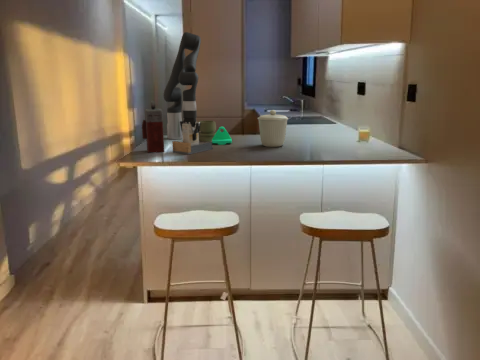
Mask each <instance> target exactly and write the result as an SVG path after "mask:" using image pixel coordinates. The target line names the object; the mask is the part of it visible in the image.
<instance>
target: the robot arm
mask: <svg viewBox="0 0 480 360" xmlns="http://www.w3.org/2000/svg"><path fill="white" fill-rule="evenodd" d="M201 43H202V39H201V36H199V35H197V34H194V33H191V32H186V31H185V32H183V34H182V36H181V39H180V43H179V47H178V52H177V55H176V57H175V60H174V62H173V66H172V69H171V73H170V77H169V78H168V81H167V84H166V86H165V88H164V90H163V99H164V100H163V101H165V102H167V103H173V104H172V105H171V106H169V107H168V108H167V109H166V112H167V113H166V116H167V124H166V134H167V135H166V137H167V139H168V140H181V139H182V140H183V132H182V124H190V125H191V124H192V125H191V130H192V133H193V134H192V139H193V141H195V140H196V139H197V138H196V134H197V133H198V134H199V132H201V131H200V125H201V123H200V122H199V121H197V117H198V113H197V112H198V110H197V102H196V101H197V99H196V97H197V96H196V95H197V94H196V93H197V86H198V82H199V74H198V73H197V72H196V70H197V60H198V56H199V53H200V48H201ZM185 50H188V51H191V52H190V53H189V54H187V55H186V51H185ZM179 84H180V85H181V86H191V87H190V88H189V89H184V90H183V91H182V90H181V88H180V87H177V86H178V85H179ZM182 117H183V119H182ZM194 126H195V128H193V127H194ZM197 129H198V130H197Z"/></svg>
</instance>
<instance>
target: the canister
mask: <svg viewBox="0 0 480 360" xmlns="http://www.w3.org/2000/svg"><path fill="white" fill-rule="evenodd" d="M257 120H258V126H259V134H260V135H259V136H260V143H261V145H262V146H264V147H266V148H267V147H268V148H277V147H282V146H284V143H285V141H286V134H287V133H286V132H287V125H288V120H289V117H287V115H285V114H277V110H275V109H272V110H270V111H269V114H264V115H263V114H261V115H260V116H259V117H257Z"/></svg>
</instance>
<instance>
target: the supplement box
mask: <svg viewBox="0 0 480 360" xmlns="http://www.w3.org/2000/svg"><path fill="white" fill-rule="evenodd" d="M191 125H192V124H191ZM191 125H190V124H182V142H187V143H191V146H192V145H197V144H199V133H197V134H196V138H197V139H196V140H195V141H193V139H192V134H193V133H192V130H191ZM193 128H195V126H194V127H193ZM197 130H198V129H197Z"/></svg>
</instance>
